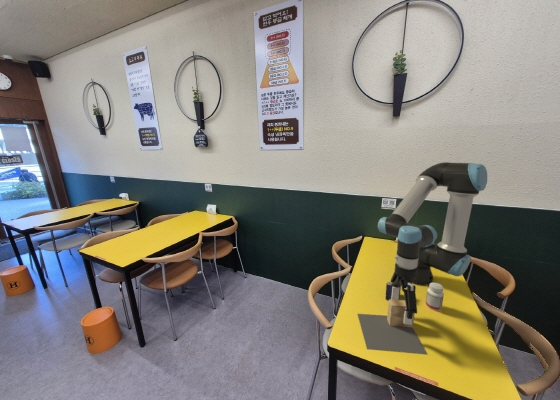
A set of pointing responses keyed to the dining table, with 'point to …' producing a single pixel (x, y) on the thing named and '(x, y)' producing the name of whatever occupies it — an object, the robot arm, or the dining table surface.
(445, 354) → the dining table surface
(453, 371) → the dining table surface
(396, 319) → the oak tile
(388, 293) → the flask
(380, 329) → the mat
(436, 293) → the pill bottle
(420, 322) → the dining table surface
